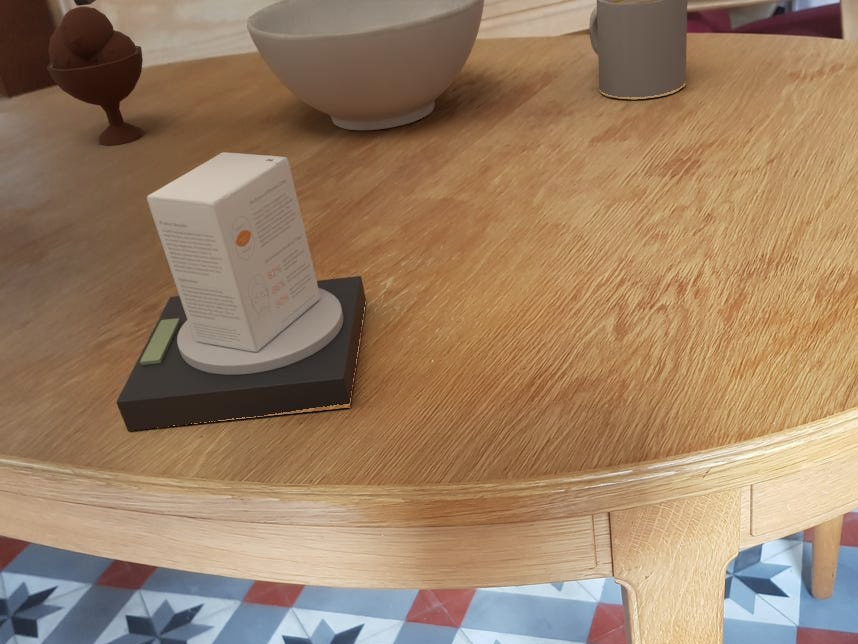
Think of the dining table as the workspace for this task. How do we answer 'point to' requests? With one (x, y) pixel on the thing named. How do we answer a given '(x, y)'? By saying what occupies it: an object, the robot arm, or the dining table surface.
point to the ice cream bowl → (96, 67)
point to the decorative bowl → (367, 54)
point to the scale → (247, 366)
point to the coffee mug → (640, 46)
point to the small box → (236, 248)
